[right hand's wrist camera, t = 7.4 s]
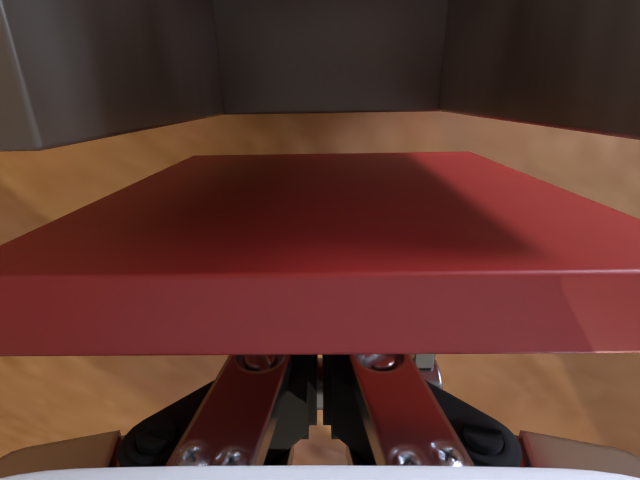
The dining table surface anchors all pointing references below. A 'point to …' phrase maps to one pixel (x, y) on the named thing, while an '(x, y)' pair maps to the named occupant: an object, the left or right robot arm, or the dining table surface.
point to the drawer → (321, 181)
